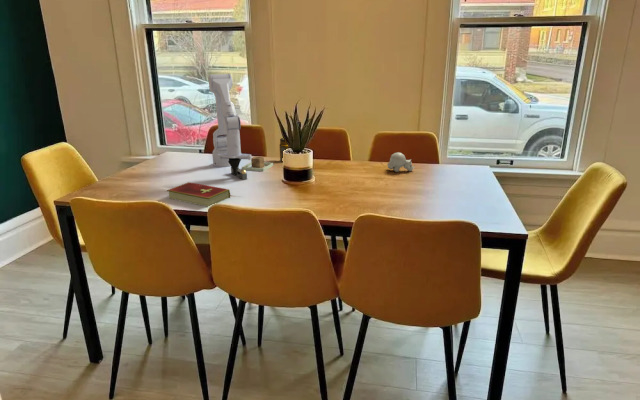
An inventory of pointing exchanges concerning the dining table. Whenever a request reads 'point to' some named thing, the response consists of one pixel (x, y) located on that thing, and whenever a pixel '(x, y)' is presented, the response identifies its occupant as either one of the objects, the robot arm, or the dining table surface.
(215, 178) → the dining table surface
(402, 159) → the toy rhinoceros
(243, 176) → the crank
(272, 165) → the tray
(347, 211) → the dining table surface
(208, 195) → the hardcover book
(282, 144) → the condiment
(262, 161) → the block
